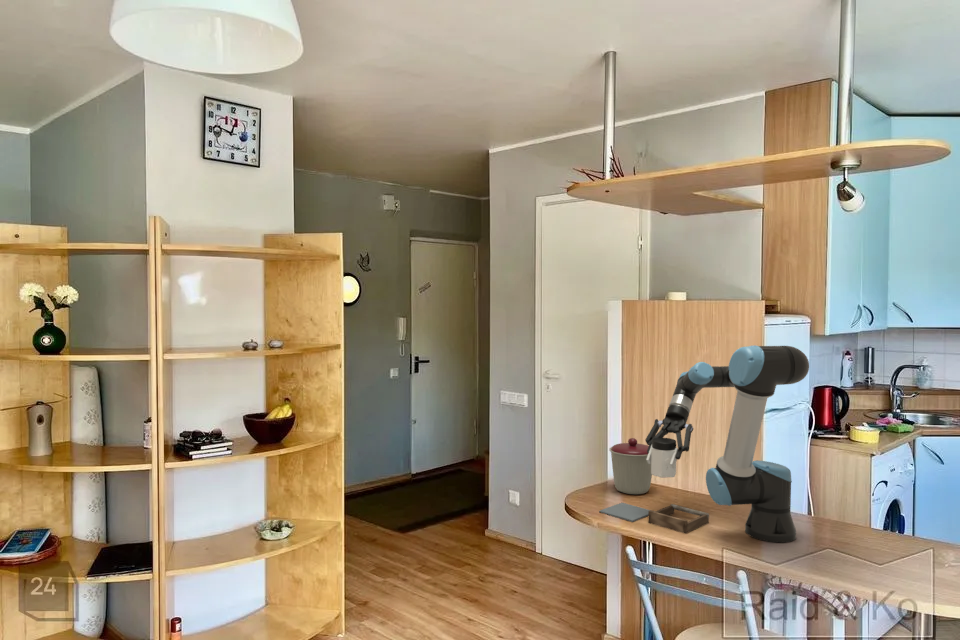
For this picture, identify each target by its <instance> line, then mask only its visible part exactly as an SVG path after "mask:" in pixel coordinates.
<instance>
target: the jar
mask: <svg viewBox="0 0 960 640" xmlns="http://www.w3.org/2000/svg"><path fill="white" fill-rule="evenodd" d="M675 448H677V439H676V440H675V439H673V438H670V437H663V438H654V439H652V448H651V475H652V476H655V477H658V478H675V477H676V475H677V463H676V464H675V467H674V468H672V467H671V465H670V462H671V459H672V456H673V454H674V453H675Z"/></svg>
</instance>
